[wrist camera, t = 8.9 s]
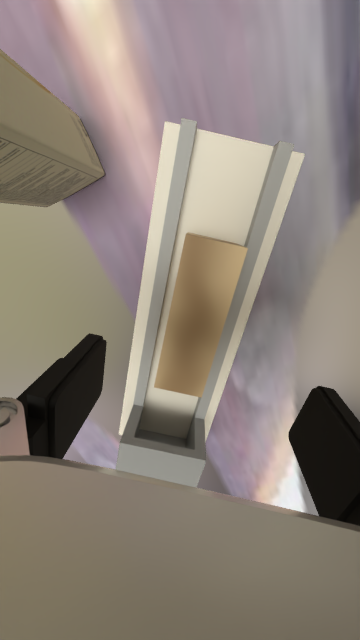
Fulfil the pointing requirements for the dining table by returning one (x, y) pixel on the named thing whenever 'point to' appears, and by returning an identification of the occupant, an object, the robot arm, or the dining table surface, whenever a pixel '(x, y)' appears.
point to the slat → (198, 312)
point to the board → (160, 277)
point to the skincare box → (40, 142)
